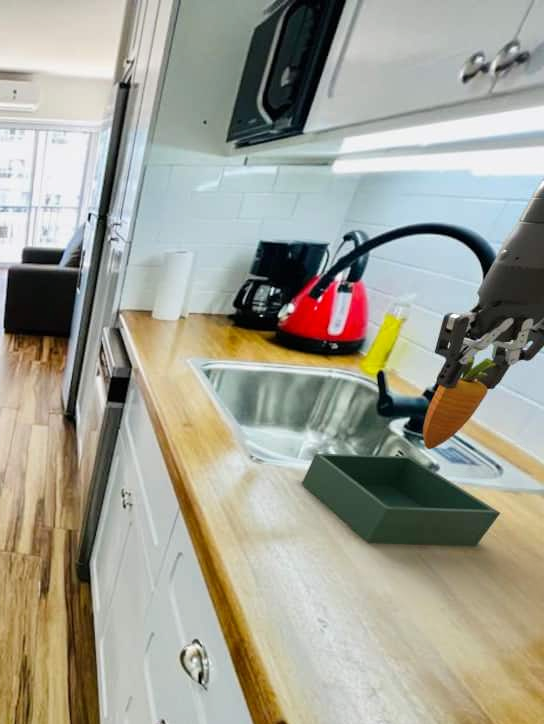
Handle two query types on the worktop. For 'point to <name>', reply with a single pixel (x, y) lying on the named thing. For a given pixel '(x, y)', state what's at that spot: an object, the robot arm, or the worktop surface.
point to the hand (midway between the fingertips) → (464, 386)
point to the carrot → (455, 405)
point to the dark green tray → (397, 500)
